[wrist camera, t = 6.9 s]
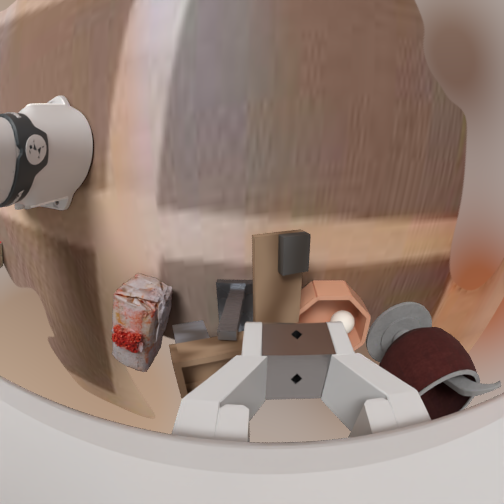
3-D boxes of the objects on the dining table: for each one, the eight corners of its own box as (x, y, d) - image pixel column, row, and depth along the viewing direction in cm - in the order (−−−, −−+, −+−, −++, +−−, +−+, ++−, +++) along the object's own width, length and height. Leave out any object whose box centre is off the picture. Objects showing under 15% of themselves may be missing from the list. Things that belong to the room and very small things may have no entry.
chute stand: (222, 341, 43) (208, 393, 32) (217, 279, 39) (198, 325, 28) (260, 343, 42) (255, 396, 32) (260, 280, 39) (255, 328, 28)
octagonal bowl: (285, 344, 42) (285, 362, 38) (288, 280, 38) (290, 296, 34) (353, 342, 41) (359, 360, 37) (365, 280, 38) (375, 295, 33)
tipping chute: (173, 360, 35) (183, 403, 28) (151, 233, 29) (152, 259, 22) (276, 338, 40) (303, 373, 33) (280, 219, 34) (316, 237, 27)
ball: (347, 324, 40) (325, 327, 40) (350, 304, 39) (328, 306, 39) (355, 338, 37) (333, 341, 36) (360, 317, 35) (336, 320, 35)
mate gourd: (376, 375, 44) (405, 464, 25) (348, 326, 40) (383, 431, 22) (446, 333, 40) (498, 408, 21) (431, 276, 37) (505, 353, 18)
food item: (132, 263, 40) (99, 293, 30) (180, 279, 40) (156, 315, 31) (128, 331, 44) (103, 367, 35) (169, 347, 45) (150, 386, 35)
